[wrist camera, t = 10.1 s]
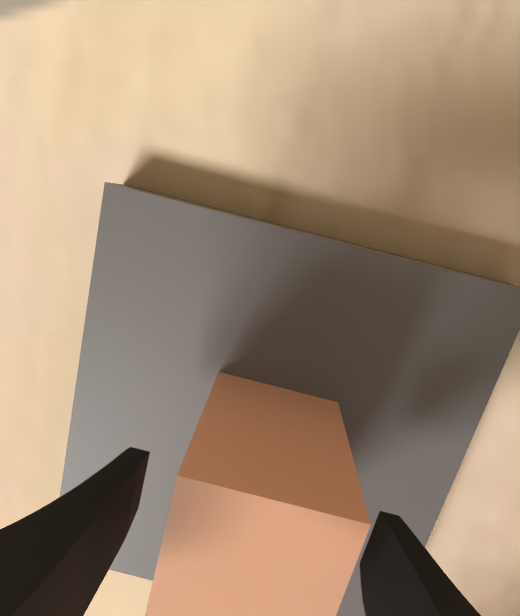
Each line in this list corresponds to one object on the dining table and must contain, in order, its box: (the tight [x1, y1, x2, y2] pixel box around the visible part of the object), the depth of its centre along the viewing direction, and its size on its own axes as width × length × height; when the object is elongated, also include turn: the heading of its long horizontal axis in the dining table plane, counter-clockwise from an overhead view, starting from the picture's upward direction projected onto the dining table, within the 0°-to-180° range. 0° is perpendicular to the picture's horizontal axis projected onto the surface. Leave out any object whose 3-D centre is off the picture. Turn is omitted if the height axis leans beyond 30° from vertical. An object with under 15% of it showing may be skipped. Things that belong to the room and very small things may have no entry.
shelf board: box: [60, 182, 520, 616], centre depth 16 cm, size 16×15×2 cm
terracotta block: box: [145, 372, 371, 616], centre depth 13 cm, size 5×5×6 cm
